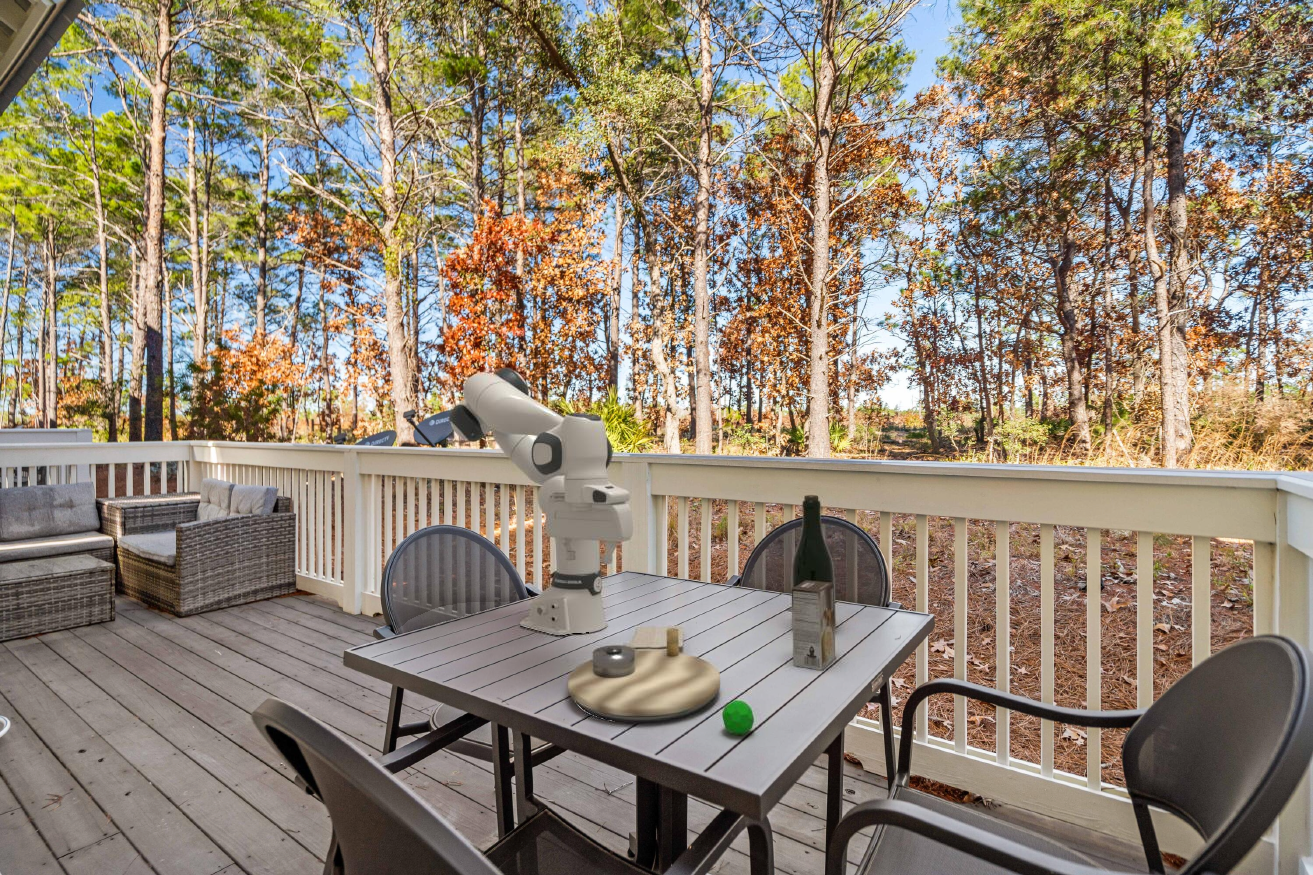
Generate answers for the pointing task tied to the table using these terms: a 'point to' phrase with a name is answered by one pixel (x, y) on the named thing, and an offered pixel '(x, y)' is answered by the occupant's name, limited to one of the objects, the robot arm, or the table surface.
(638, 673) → the turntable
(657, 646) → the washcloth
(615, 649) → the iron cover
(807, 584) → the coffee box
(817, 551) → the wine bottle
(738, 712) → the polyhedron
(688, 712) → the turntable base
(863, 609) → the table surface
